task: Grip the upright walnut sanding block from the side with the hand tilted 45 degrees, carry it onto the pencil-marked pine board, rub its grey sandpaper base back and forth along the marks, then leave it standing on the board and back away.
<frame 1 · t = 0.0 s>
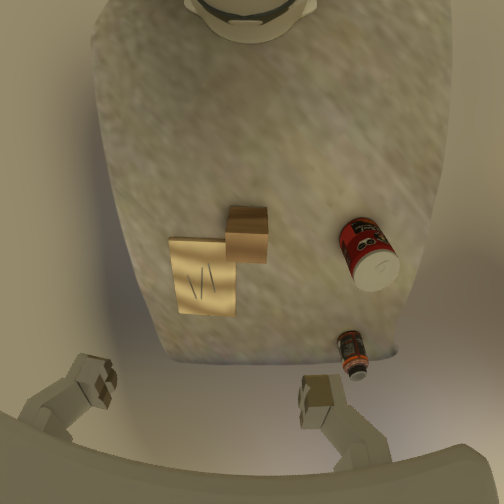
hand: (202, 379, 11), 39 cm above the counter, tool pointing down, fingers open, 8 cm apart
supplement bottle: (348, 337, 68), on the counter
board: (205, 278, 58), on the counter
sanding block: (248, 219, 51), on the counter
canned food: (358, 235, 52), on the counter
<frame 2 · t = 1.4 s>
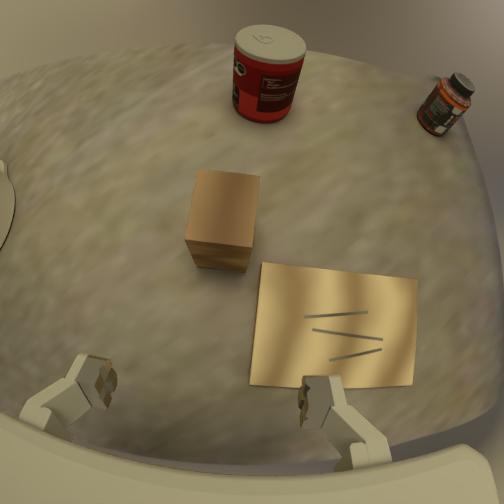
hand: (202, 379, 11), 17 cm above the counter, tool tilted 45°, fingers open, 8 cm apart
supplement bottle: (430, 123, 40), on the counter
board: (341, 330, 30), on the counter
sanding block: (224, 241, 31), on the counter
canned food: (261, 104, 37), on the counter
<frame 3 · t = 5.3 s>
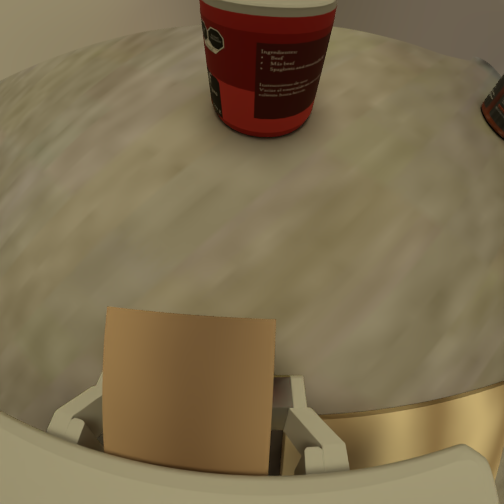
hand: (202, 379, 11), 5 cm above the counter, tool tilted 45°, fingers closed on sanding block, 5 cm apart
supplement bottle: (496, 123, 24), on the counter
board: (407, 480, 13), on the counter
sanding block: (215, 380, 16), on the counter, touching gripper
canned food: (261, 106, 22), on the counter
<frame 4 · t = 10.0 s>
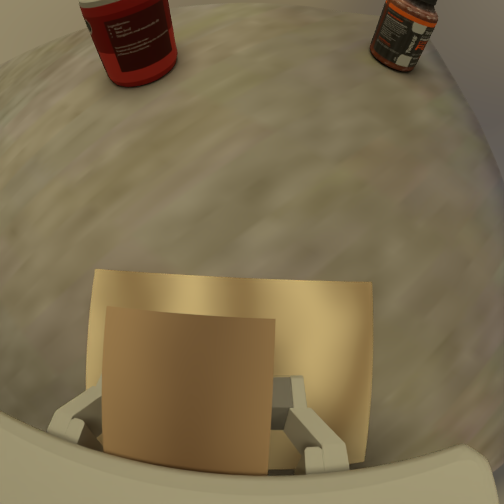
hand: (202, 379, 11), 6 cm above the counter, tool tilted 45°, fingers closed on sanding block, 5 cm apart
supplement bottle: (390, 59, 27), on the counter
board: (225, 375, 17), on the counter
sanding block: (214, 380, 16), point 2 cm above the counter, touching gripper
canned food: (143, 67, 26), on the counter
when the fingers open (6 cm above the counter, at t = 14.6 s): sanding block stays where it is, resting on board.
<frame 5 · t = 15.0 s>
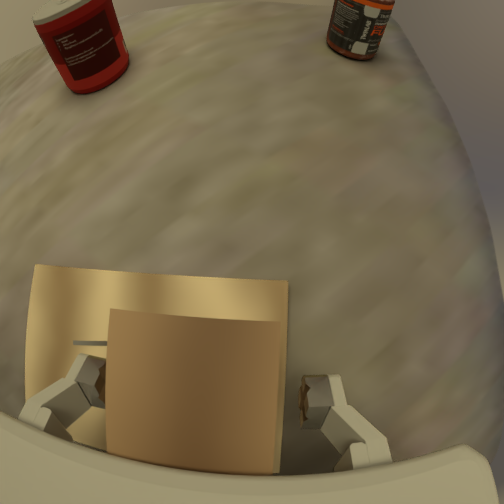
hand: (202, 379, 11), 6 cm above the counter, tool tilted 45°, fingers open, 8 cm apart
supplement bottle: (350, 48, 27), on the counter
board: (139, 368, 17), on the counter
sanding block: (213, 381, 16), point 1 cm above the counter, touching board
canned food: (99, 73, 26), on the counter
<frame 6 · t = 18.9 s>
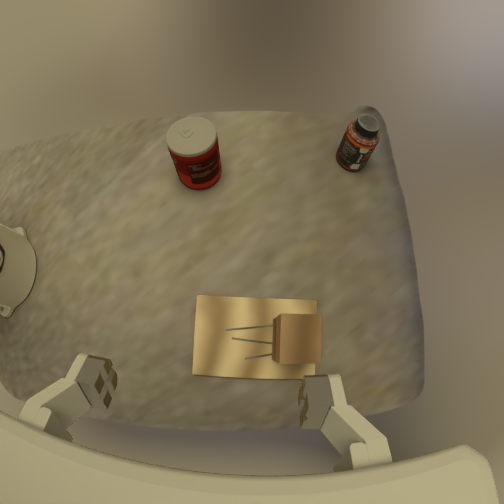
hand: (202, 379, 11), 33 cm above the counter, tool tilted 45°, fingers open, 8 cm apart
supplement bottle: (349, 160, 54), on the counter
board: (255, 338, 44), on the counter
sanding block: (289, 339, 43), point 1 cm above the counter, touching board
canned food: (200, 172, 52), on the counter
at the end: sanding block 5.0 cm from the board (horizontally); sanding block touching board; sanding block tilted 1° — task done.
